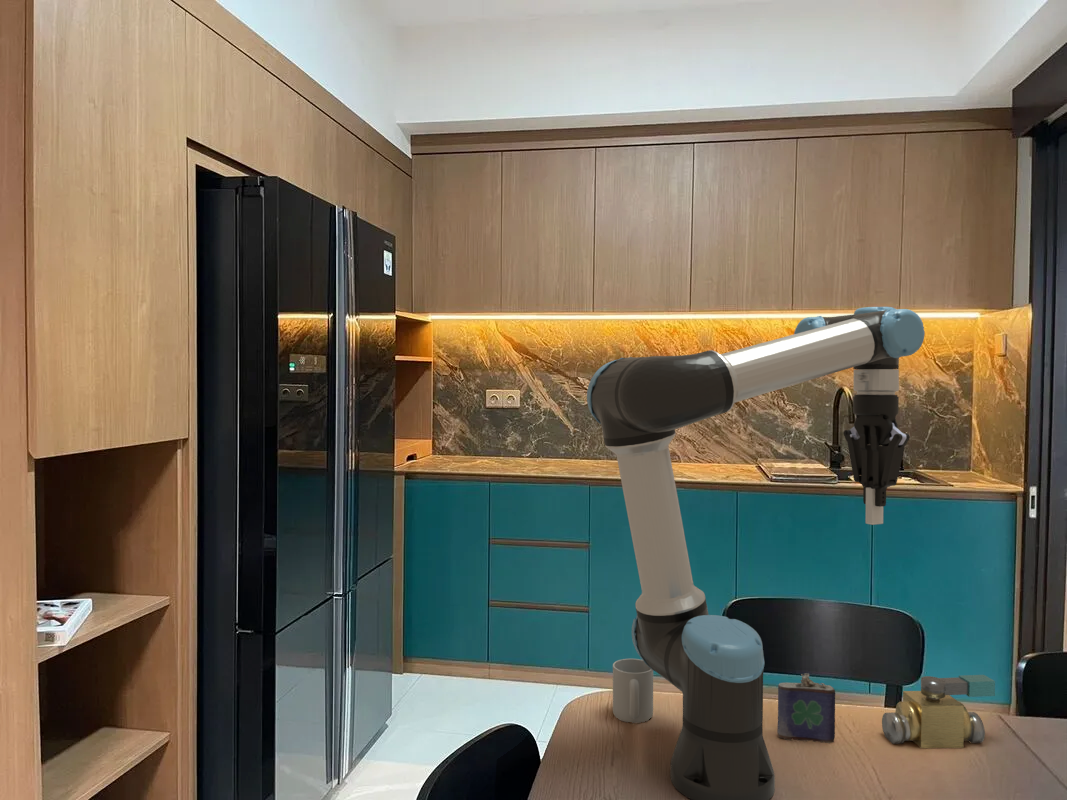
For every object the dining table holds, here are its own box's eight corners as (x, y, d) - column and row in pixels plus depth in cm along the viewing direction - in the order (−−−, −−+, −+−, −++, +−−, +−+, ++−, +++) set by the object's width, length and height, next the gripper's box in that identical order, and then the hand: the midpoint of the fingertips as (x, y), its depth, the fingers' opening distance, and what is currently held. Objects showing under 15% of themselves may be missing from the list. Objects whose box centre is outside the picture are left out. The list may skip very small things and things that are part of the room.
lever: (929, 699, 125) (929, 684, 125) (916, 690, 129) (916, 676, 129) (996, 696, 126) (996, 682, 126) (981, 688, 130) (982, 673, 130)
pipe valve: (897, 750, 124) (898, 703, 124) (880, 733, 130) (880, 688, 130) (986, 750, 125) (987, 703, 125) (965, 733, 131) (966, 688, 131)
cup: (651, 707, 140) (651, 659, 140) (655, 731, 130) (655, 680, 130) (612, 705, 141) (612, 658, 141) (613, 730, 131) (613, 678, 131)
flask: (778, 739, 128) (779, 676, 127) (776, 731, 130) (776, 669, 130) (836, 744, 126) (837, 680, 126) (832, 736, 129) (833, 673, 129)
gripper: (832, 393, 142) (831, 519, 142) (890, 393, 130) (888, 531, 130) (862, 392, 145) (861, 516, 145) (921, 393, 133) (920, 528, 133)
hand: (874, 523), depth 138 cm, fingers closed
